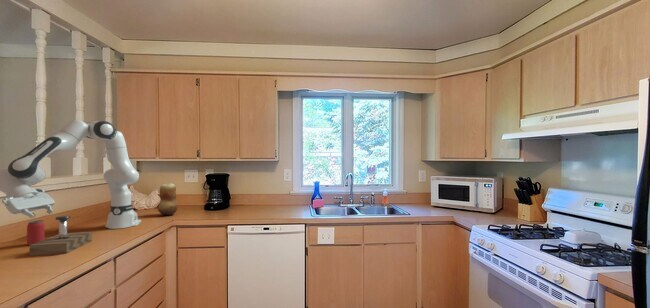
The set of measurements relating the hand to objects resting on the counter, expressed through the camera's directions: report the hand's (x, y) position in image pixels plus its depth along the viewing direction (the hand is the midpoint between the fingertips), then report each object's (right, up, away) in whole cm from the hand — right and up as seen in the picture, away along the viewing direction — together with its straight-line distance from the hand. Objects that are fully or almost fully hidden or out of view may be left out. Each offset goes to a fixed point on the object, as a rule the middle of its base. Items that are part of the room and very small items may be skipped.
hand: (42, 214), depth 143 cm
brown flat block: (+10, -17, 0) cm, 20 cm away
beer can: (-11, -17, +7) cm, 22 cm away
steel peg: (+10, -17, 0) cm, 20 cm away
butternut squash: (+21, -17, +77) cm, 82 cm away
